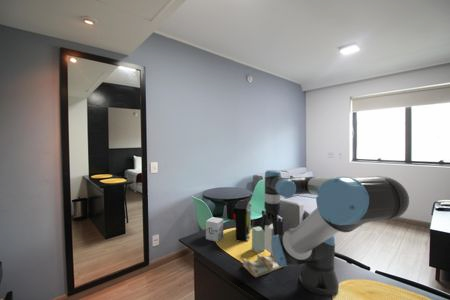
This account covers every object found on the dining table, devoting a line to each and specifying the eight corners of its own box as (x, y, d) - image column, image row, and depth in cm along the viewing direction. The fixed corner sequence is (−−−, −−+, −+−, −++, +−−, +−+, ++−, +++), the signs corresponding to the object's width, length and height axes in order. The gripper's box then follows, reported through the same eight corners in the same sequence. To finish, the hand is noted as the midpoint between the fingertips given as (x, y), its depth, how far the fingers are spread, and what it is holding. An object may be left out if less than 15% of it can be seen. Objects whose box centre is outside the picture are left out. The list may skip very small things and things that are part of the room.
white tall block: (279, 251, 103) (279, 227, 102) (271, 253, 100) (271, 229, 100) (272, 246, 107) (272, 223, 106) (264, 249, 104) (264, 225, 104)
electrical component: (249, 241, 126) (249, 209, 126) (232, 240, 128) (233, 208, 128) (251, 229, 144) (251, 201, 143) (236, 228, 146) (237, 200, 145)
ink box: (212, 233, 137) (212, 216, 137) (223, 236, 134) (223, 218, 133) (205, 239, 130) (205, 220, 129) (217, 242, 126) (217, 223, 125)
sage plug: (264, 250, 116) (264, 229, 116) (257, 252, 114) (257, 231, 113) (258, 246, 120) (259, 226, 120) (251, 248, 118) (252, 227, 118)
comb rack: (286, 265, 102) (286, 258, 101) (255, 277, 92) (255, 269, 92) (272, 256, 110) (272, 249, 110) (243, 266, 101) (243, 258, 101)
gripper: (291, 205, 96) (290, 254, 97) (266, 196, 112) (265, 238, 113) (279, 207, 93) (278, 258, 94) (255, 198, 109) (254, 241, 109)
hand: (271, 247), depth 103 cm, fingers closed on white tall block, 5 cm apart
